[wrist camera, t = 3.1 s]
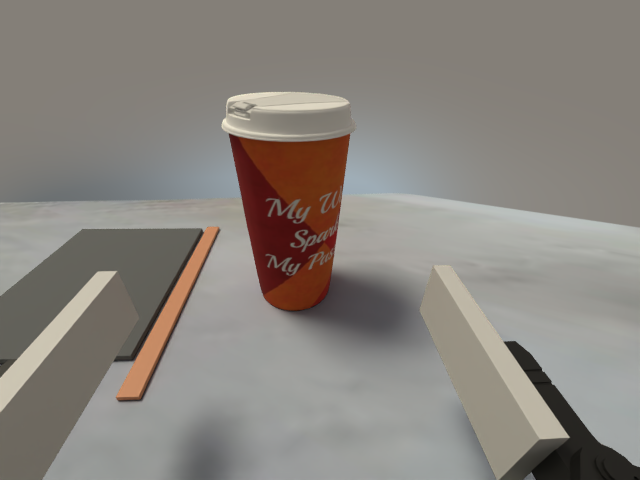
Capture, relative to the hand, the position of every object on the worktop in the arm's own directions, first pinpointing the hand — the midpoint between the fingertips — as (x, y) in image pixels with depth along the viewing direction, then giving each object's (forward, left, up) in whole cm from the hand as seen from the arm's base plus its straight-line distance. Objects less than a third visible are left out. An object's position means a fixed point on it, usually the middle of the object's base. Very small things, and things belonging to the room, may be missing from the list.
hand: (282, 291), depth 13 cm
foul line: (+9, -9, -7) cm, 14 cm away
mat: (+16, -10, -7) cm, 20 cm away
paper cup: (0, -9, -8) cm, 11 cm away
